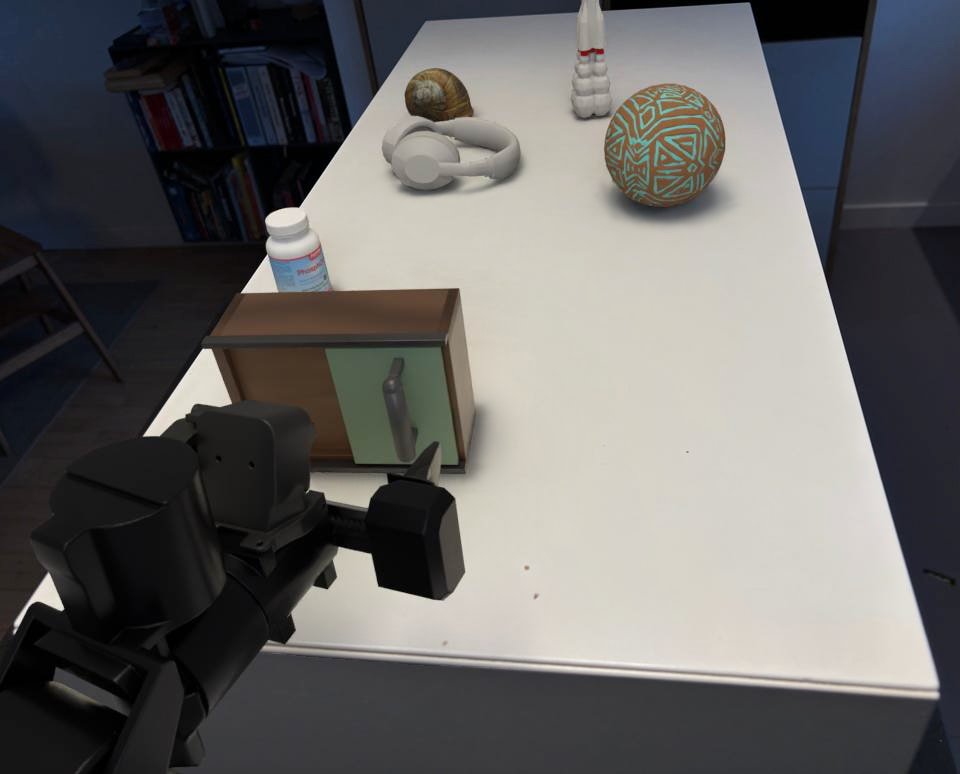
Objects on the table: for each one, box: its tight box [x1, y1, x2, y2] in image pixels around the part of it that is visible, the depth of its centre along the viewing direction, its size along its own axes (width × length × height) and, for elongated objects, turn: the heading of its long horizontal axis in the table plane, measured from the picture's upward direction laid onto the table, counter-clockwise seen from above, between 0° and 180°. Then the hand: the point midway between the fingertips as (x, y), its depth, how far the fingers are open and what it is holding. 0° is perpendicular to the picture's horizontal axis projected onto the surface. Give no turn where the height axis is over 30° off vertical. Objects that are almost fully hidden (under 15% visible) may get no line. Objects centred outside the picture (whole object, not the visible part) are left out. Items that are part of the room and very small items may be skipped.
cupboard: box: [200, 287, 477, 474], centre depth 71 cm, size 8×20×14 cm, turn 84°
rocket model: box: [570, 0, 613, 119], centre depth 125 cm, size 7×7×30 cm
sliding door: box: [325, 346, 459, 465], centre depth 67 cm, size 4×9×13 cm, turn 84°
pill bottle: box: [264, 207, 333, 292], centre depth 93 cm, size 6×6×11 cm
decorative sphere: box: [603, 82, 726, 208], centre depth 103 cm, size 15×15×15 cm
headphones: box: [381, 115, 522, 191], centre depth 120 cm, size 18×8×20 cm
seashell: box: [404, 67, 474, 123], centre depth 137 cm, size 11×9×8 cm
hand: (374, 437), depth 52 cm, fingers open, 9 cm apart
